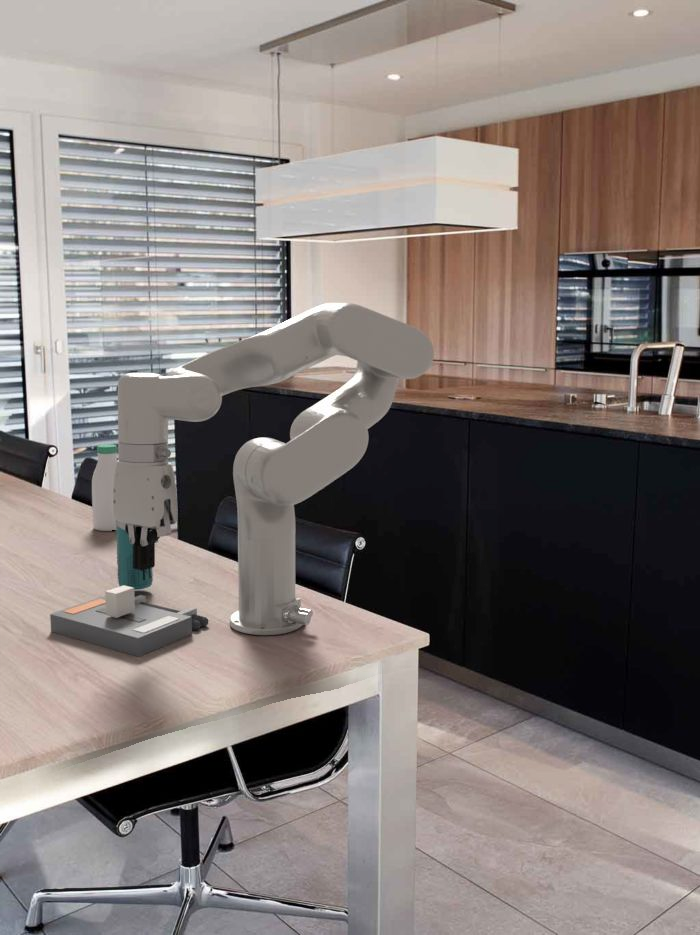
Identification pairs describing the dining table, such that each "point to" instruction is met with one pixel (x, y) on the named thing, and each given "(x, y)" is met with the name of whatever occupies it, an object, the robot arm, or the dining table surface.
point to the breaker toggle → (120, 601)
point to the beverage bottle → (129, 564)
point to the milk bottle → (104, 488)
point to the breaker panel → (122, 626)
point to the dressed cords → (192, 612)
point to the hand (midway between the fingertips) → (143, 567)
